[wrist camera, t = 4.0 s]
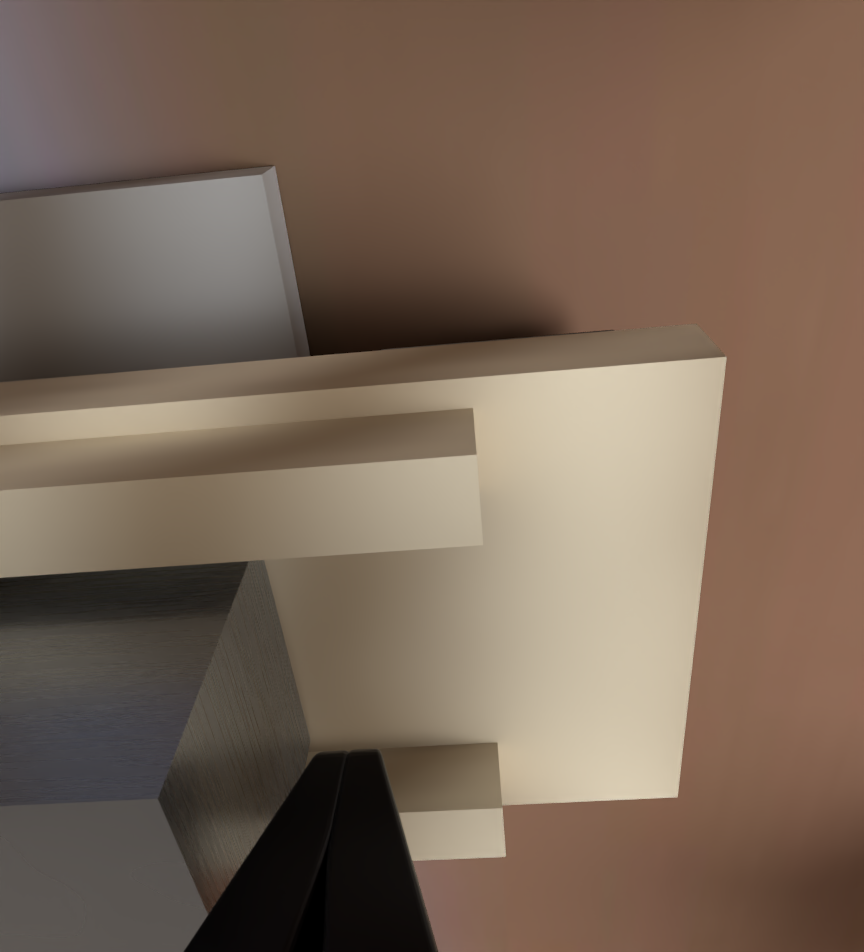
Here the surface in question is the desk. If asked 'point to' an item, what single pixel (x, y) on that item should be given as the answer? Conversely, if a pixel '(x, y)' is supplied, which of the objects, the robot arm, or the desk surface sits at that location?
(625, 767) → the balance beam
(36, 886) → the block
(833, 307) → the desk surface
